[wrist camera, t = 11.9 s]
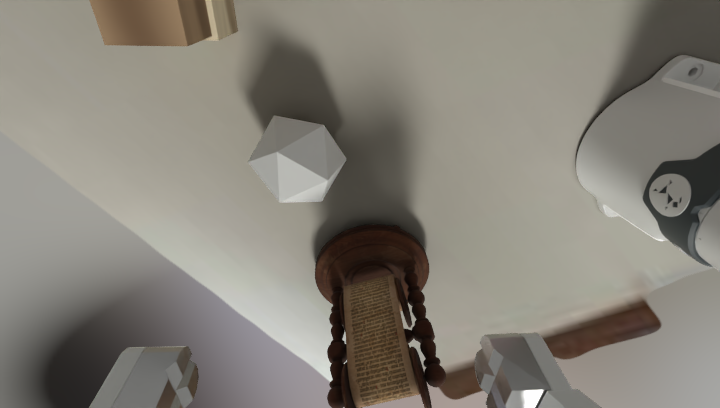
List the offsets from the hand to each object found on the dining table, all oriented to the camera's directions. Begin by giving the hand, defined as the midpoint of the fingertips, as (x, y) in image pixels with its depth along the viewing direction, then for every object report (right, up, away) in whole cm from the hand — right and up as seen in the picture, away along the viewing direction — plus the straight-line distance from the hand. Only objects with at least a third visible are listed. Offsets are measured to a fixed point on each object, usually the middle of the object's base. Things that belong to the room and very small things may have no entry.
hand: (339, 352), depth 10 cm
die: (-6, +11, +28) cm, 30 cm away
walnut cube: (-13, +19, +15) cm, 27 cm away
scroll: (+2, -4, +37) cm, 38 cm away
